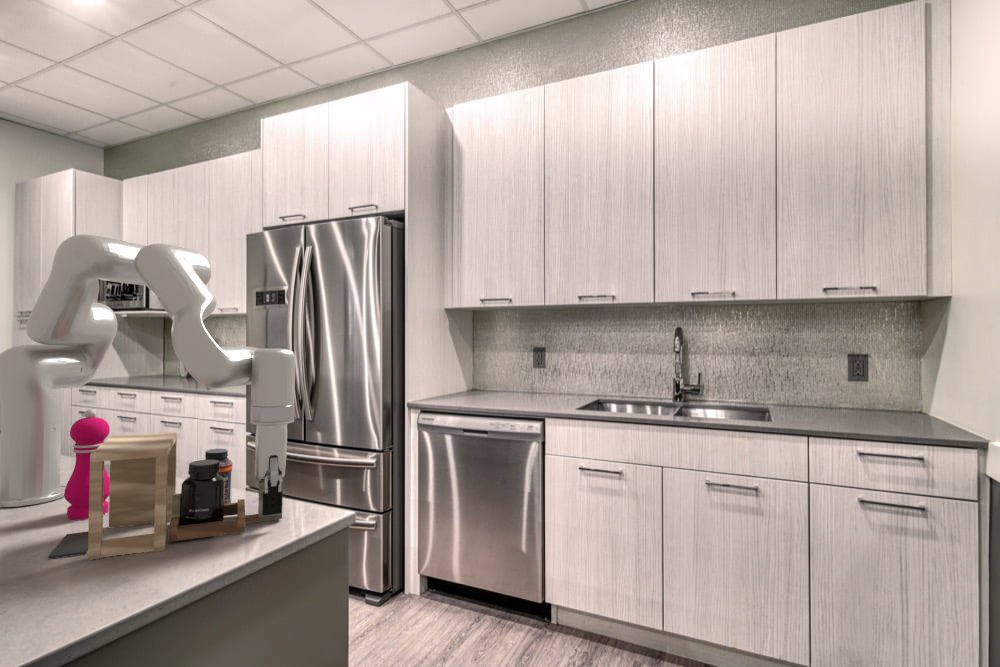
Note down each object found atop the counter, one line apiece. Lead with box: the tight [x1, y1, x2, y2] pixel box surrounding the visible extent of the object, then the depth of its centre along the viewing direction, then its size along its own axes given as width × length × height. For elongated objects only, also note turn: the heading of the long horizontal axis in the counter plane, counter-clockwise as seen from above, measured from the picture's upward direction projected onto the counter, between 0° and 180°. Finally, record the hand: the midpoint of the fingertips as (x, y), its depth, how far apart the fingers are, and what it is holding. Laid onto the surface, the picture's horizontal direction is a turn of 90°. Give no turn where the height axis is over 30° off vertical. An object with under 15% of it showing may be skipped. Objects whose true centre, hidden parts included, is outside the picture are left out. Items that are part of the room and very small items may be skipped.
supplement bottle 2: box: [204, 448, 233, 504], centre depth 108 cm, size 6×6×11 cm
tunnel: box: [87, 431, 178, 561], centre depth 91 cm, size 16×10×16 cm, turn 26°
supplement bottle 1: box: [180, 459, 225, 526], centre depth 95 cm, size 7×7×12 cm
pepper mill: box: [63, 408, 111, 520], centre depth 102 cm, size 7×7×20 cm
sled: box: [167, 478, 284, 543], centre depth 97 cm, size 11×18×7 cm, turn 116°
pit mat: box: [47, 531, 88, 559], centre depth 87 cm, size 10×5×1 cm, turn 26°
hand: (270, 506), depth 100 cm, fingers open, 9 cm apart
